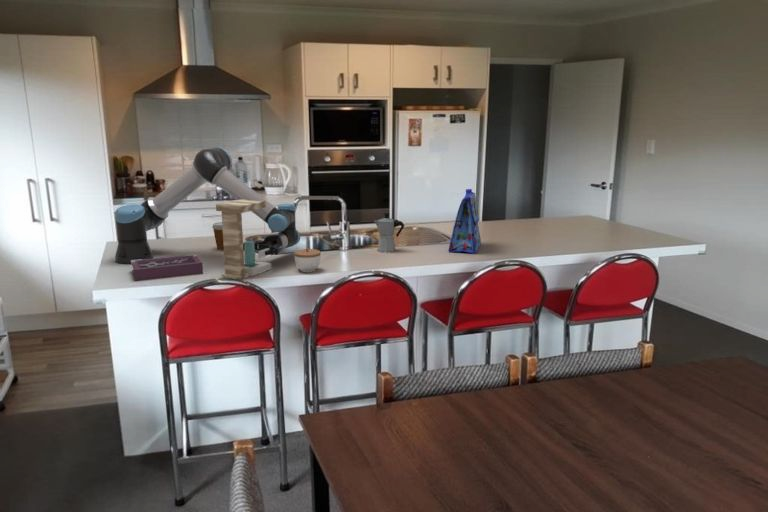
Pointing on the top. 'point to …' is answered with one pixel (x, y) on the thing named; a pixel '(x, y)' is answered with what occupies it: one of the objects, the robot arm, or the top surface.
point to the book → (166, 267)
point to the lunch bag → (466, 226)
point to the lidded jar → (307, 259)
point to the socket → (257, 268)
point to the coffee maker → (387, 233)
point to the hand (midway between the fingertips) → (245, 253)
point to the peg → (249, 253)
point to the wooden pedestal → (235, 234)
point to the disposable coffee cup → (218, 235)
